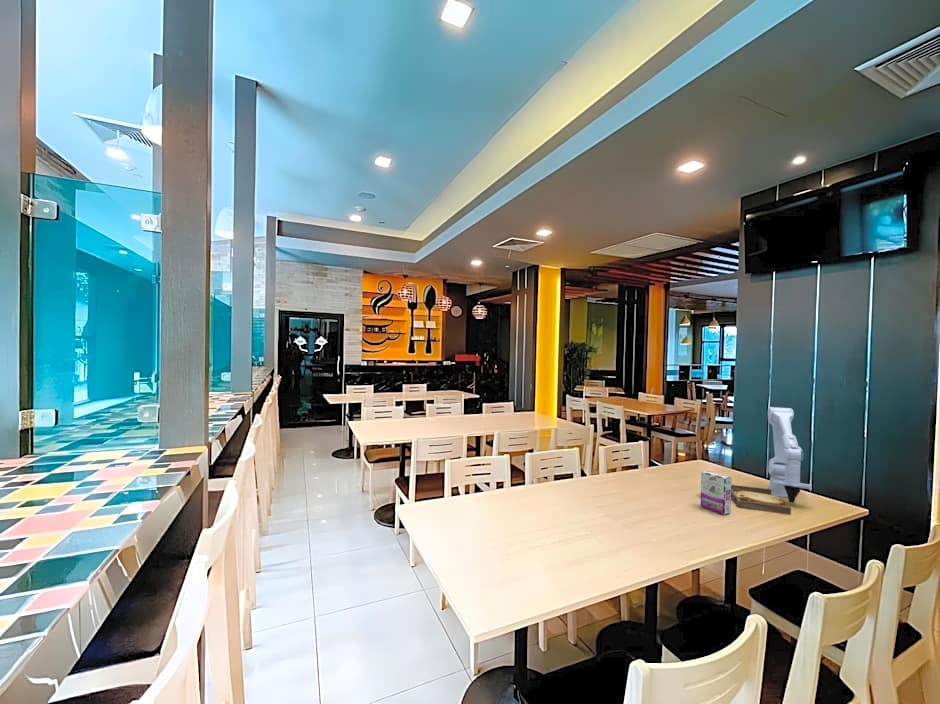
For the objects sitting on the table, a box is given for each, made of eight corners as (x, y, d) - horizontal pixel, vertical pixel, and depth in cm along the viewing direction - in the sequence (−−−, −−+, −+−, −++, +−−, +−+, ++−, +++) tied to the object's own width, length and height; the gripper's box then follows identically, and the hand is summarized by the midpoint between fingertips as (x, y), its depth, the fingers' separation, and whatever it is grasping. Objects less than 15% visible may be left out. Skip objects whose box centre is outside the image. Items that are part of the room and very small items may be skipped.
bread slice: (788, 504, 197) (788, 496, 197) (772, 511, 187) (772, 503, 187) (746, 492, 212) (747, 485, 212) (729, 498, 202) (730, 491, 202)
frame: (724, 489, 215) (725, 483, 215) (770, 495, 208) (770, 489, 208) (738, 507, 190) (738, 501, 190) (790, 514, 184) (790, 507, 184)
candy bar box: (731, 513, 183) (732, 477, 183) (724, 515, 180) (725, 478, 180) (706, 504, 193) (707, 470, 192) (699, 506, 190) (701, 471, 190)
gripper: (776, 473, 194) (775, 502, 194) (814, 478, 189) (813, 507, 189) (771, 469, 200) (770, 497, 200) (808, 473, 195) (807, 502, 195)
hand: (791, 502), depth 195 cm, fingers closed
